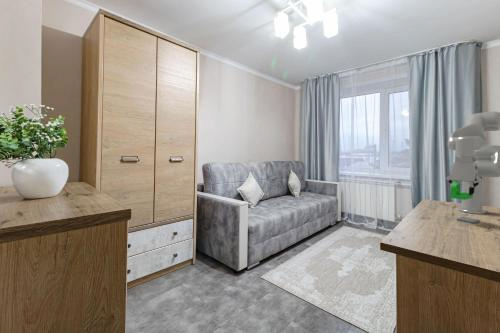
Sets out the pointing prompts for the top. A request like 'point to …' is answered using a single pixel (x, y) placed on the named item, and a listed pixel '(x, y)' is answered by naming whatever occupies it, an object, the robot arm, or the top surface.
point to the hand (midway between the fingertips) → (462, 193)
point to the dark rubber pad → (468, 220)
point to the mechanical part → (457, 194)
